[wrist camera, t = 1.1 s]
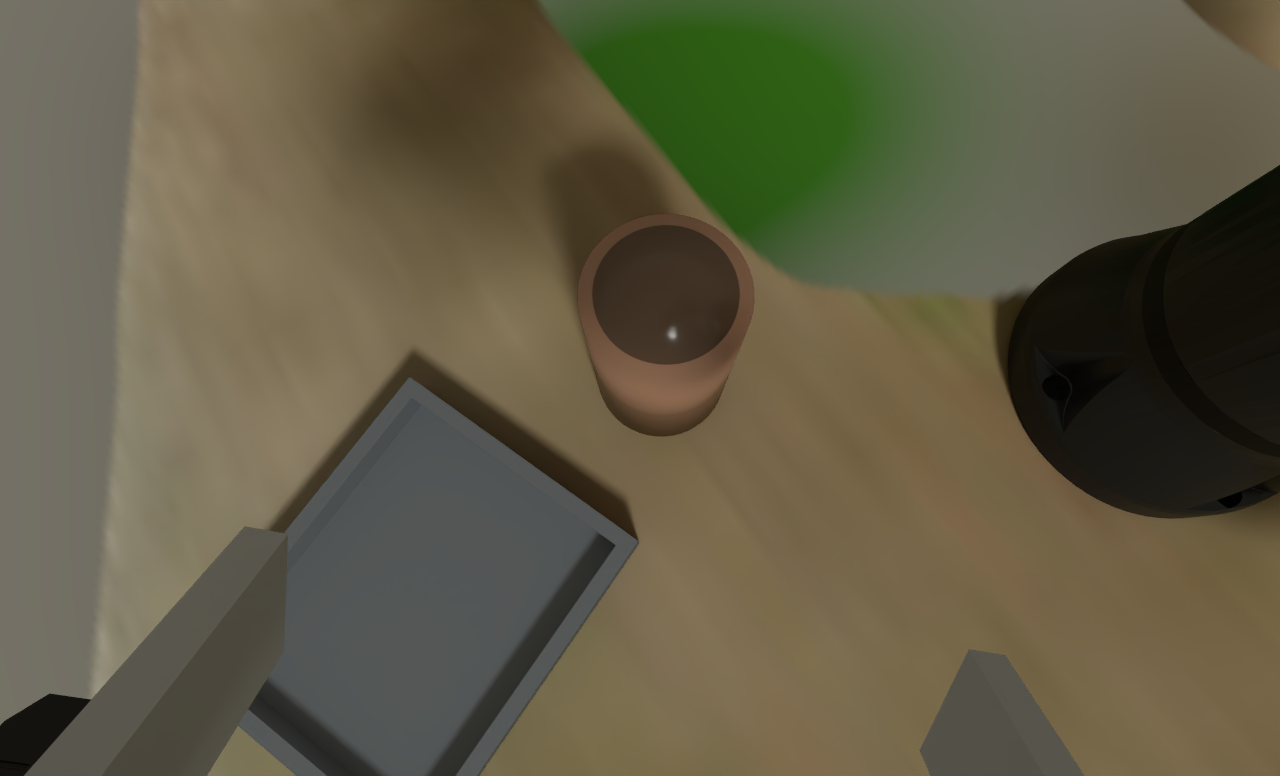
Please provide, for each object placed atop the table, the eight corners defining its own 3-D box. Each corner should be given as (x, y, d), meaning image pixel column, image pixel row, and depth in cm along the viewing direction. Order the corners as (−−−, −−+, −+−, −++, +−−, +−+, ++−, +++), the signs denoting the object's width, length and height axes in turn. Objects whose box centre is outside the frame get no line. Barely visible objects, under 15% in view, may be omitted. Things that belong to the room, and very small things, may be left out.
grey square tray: (639, 543, 38) (638, 541, 36) (426, 851, 35) (410, 872, 32) (423, 388, 40) (409, 376, 38) (204, 664, 37) (173, 670, 35)
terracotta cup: (748, 359, 41) (789, 271, 29) (677, 461, 39) (689, 413, 27) (645, 292, 42) (644, 181, 30) (572, 389, 40) (541, 313, 29)
